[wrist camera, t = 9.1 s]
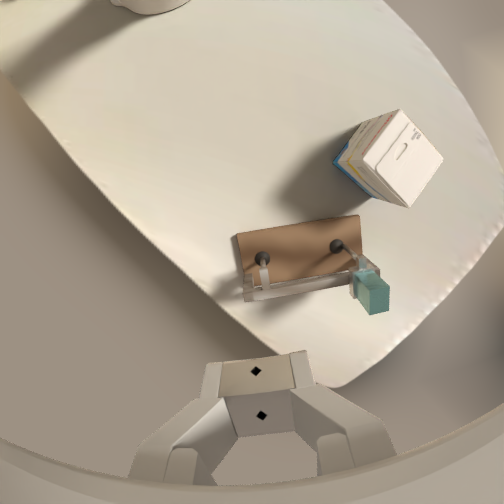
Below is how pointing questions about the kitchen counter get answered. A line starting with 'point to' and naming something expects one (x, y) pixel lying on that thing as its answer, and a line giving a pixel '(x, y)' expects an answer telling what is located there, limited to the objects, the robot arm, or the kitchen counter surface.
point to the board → (299, 256)
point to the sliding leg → (367, 285)
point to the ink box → (390, 158)
